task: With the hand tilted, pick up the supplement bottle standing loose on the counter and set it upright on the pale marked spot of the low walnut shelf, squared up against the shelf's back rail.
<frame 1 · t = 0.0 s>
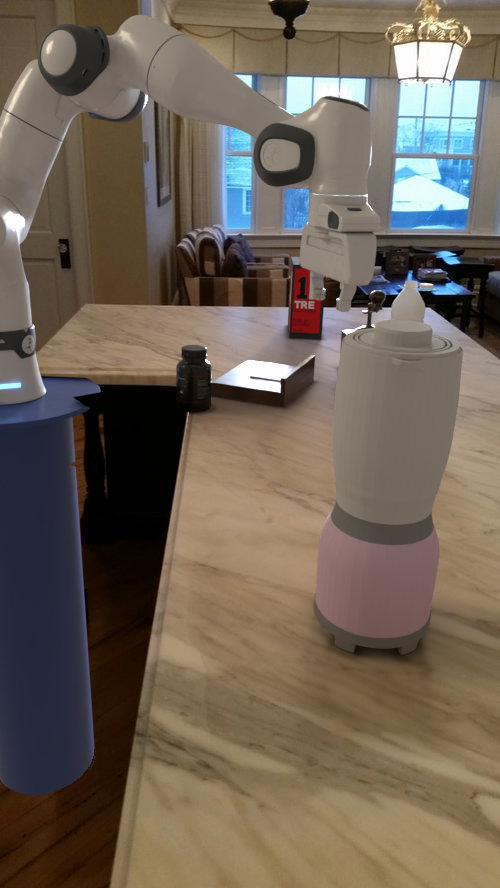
hand: (330, 305, 113), 24 cm above the kitchen island, tool pointing down, fingers open, 8 cm apart
cleaning product box: (303, 332, 203), on the kitchen island
water bottle: (400, 406, 143), on the kitchen island
blender: (367, 614, 77), on the kitchen island
supplement bottle: (193, 408, 138), on the kitchen island
shelf: (264, 388, 151), on the kitchen island
coffee grinder: (363, 371, 167), on the kitchen island
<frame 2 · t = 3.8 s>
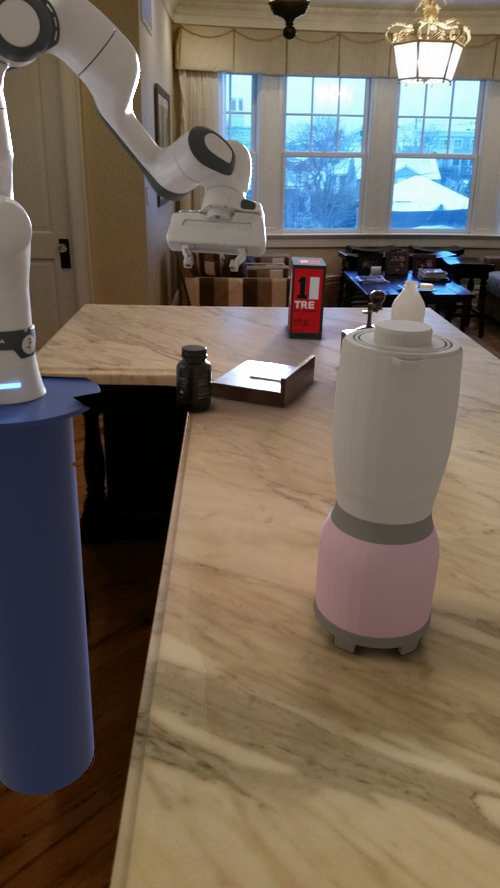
hand: (210, 268, 140), 25 cm above the kitchen island, tool tilted 45°, fingers open, 8 cm apart
nothing on the kitchen island moved.
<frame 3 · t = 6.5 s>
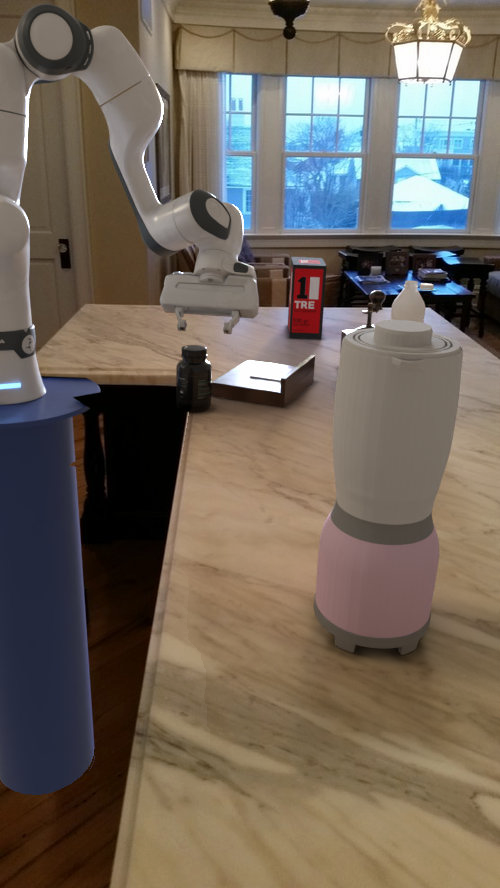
hand: (204, 331, 141), 13 cm above the kitchen island, tool tilted 45°, fingers open, 8 cm apart
nothing on the kitchen island moved.
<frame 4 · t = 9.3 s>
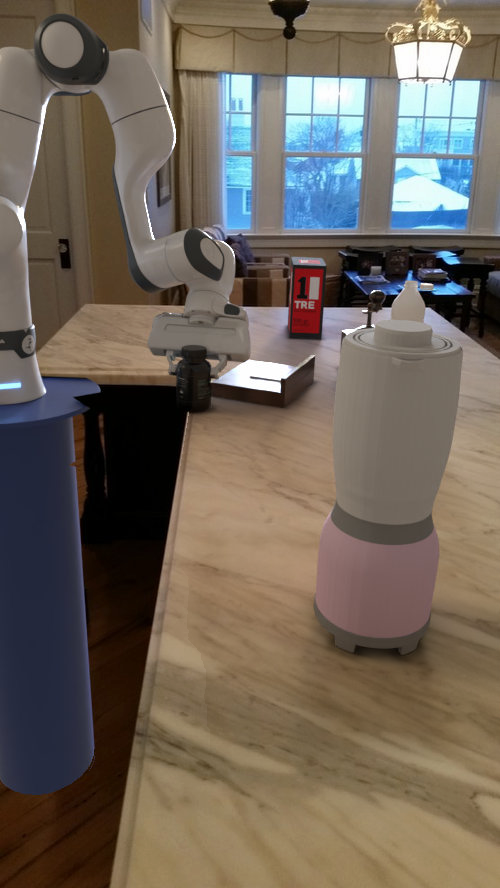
hand: (193, 375, 135), 7 cm above the kitchen island, tool tilted 45°, fingers closed on supplement bottle, 7 cm apart
supplement bottle: (193, 408, 138), on the kitchen island, touching gripper
everything else where it was.
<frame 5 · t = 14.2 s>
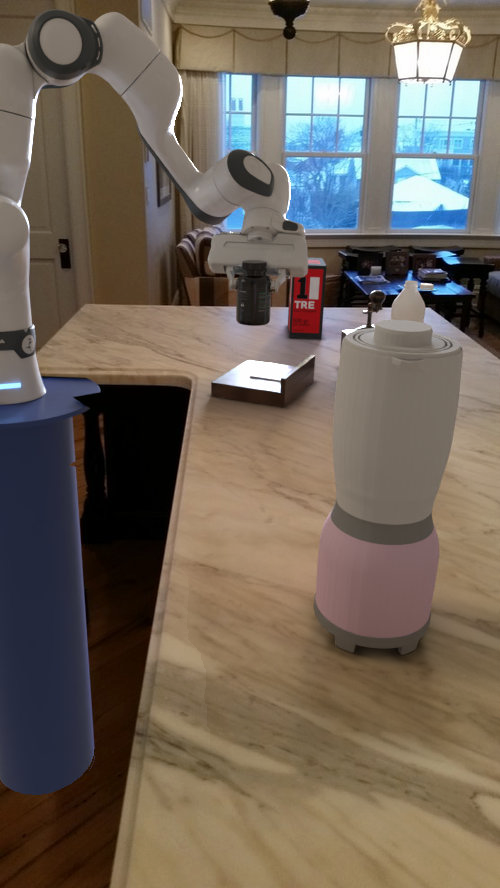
hand: (253, 290, 139), 22 cm above the kitchen island, tool tilted 45°, fingers closed on supplement bottle, 7 cm apart
supplement bottle: (253, 323, 142), point 15 cm above the kitchen island, touching gripper
everything else where it was.
when the fingers open (10 cm above the kitchen island, at t = 19.0 s): supplement bottle stays where it is, resting on shelf.
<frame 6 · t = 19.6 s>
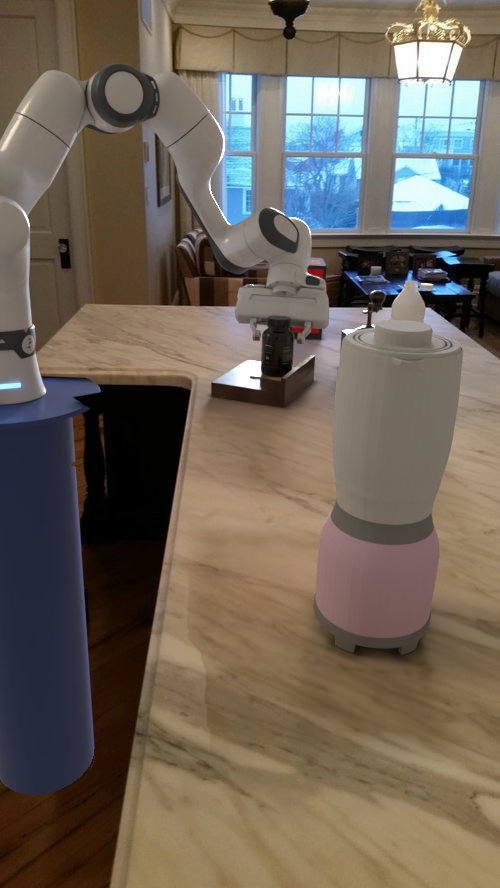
hand: (278, 341, 148), 10 cm above the kitchen island, tool tilted 45°, fingers open, 8 cm apart
supplement bottle: (276, 373, 151), point 3 cm above the kitchen island, touching shelf
everything else where it was.
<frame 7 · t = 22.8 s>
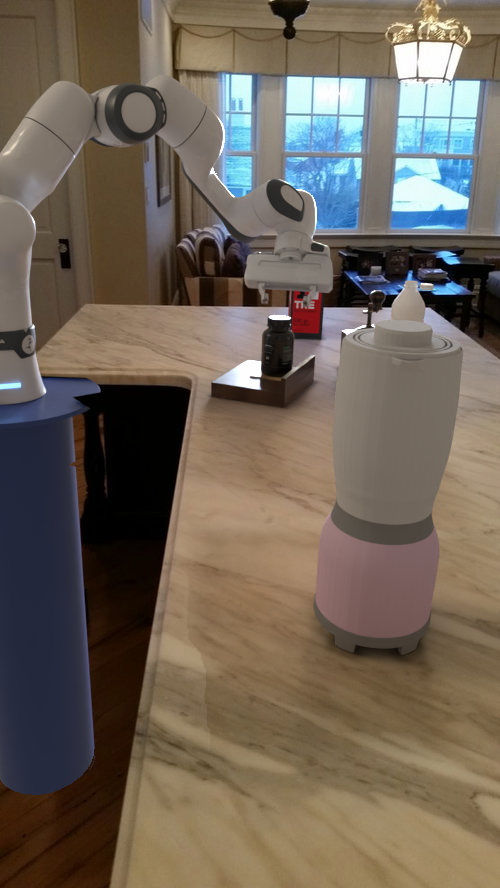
hand: (285, 303, 158), 16 cm above the kitchen island, tool tilted 45°, fingers open, 8 cm apart
nothing on the kitchen island moved.
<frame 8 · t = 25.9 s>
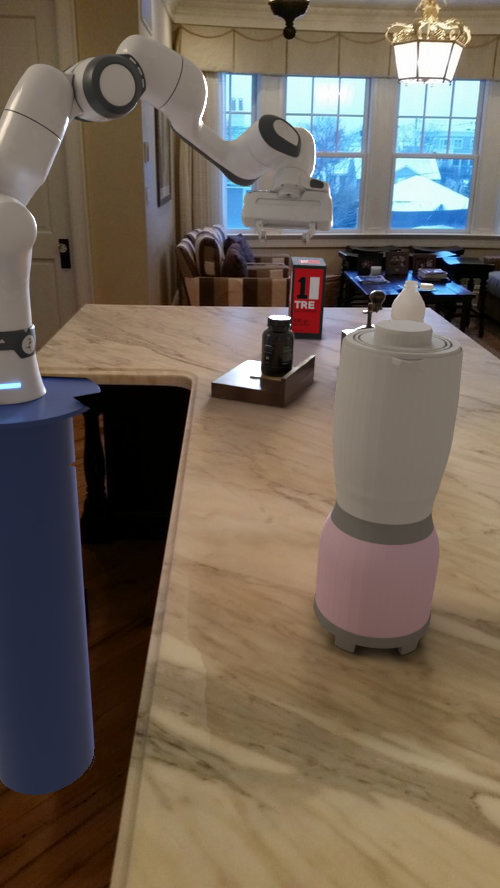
hand: (283, 241, 153), 29 cm above the kitchen island, tool tilted 45°, fingers open, 8 cm apart
nothing on the kitchen island moved.
at the end: supplement bottle 0.1 cm from the target spot, point 3.0 cm above the kitchen island; supplement bottle tilted 0°; the gripper is holding nothing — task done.
